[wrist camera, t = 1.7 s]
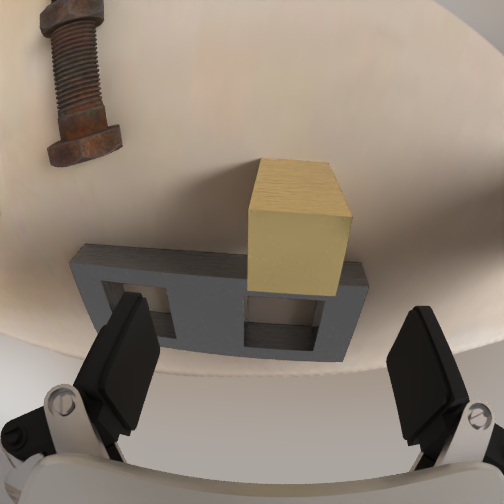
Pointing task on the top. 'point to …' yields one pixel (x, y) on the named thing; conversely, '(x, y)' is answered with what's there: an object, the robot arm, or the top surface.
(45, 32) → the bolt
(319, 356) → the grey peg board
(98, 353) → the robot arm
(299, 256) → the gold block
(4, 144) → the top surface
